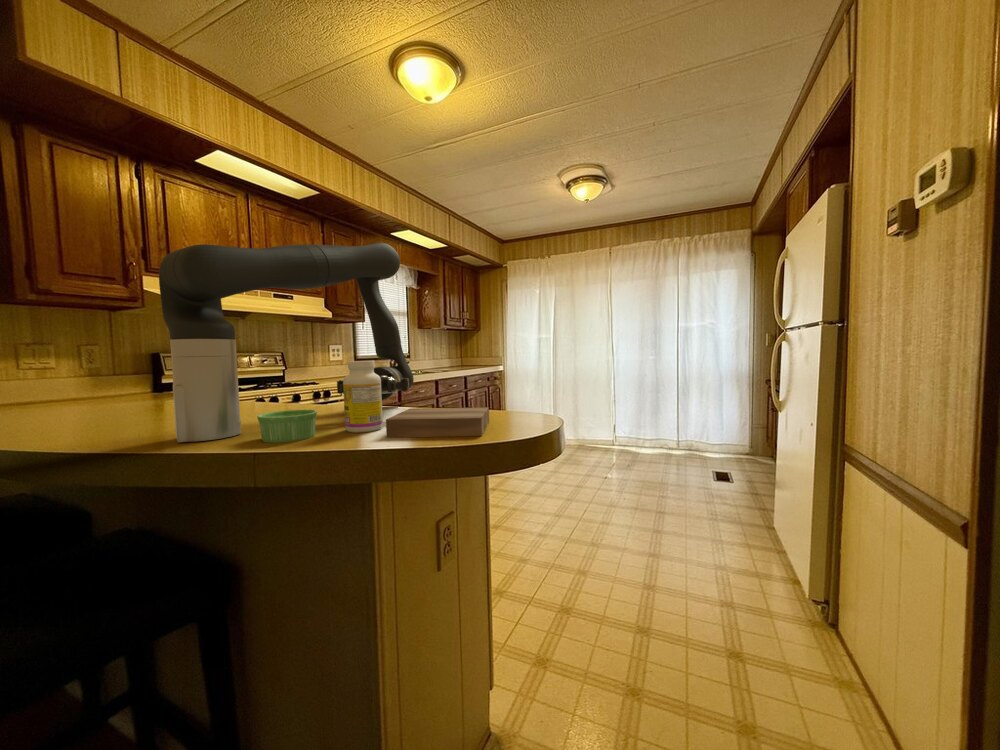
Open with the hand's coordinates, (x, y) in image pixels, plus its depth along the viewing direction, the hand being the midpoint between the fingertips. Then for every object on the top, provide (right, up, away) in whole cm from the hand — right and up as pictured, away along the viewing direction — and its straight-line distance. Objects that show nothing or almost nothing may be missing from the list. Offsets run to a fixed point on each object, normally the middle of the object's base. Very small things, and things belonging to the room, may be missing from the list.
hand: (367, 387), depth 76 cm
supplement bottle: (+1, -8, -3) cm, 9 cm away
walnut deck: (+15, -7, -5) cm, 18 cm away
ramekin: (-10, -9, -9) cm, 16 cm away
